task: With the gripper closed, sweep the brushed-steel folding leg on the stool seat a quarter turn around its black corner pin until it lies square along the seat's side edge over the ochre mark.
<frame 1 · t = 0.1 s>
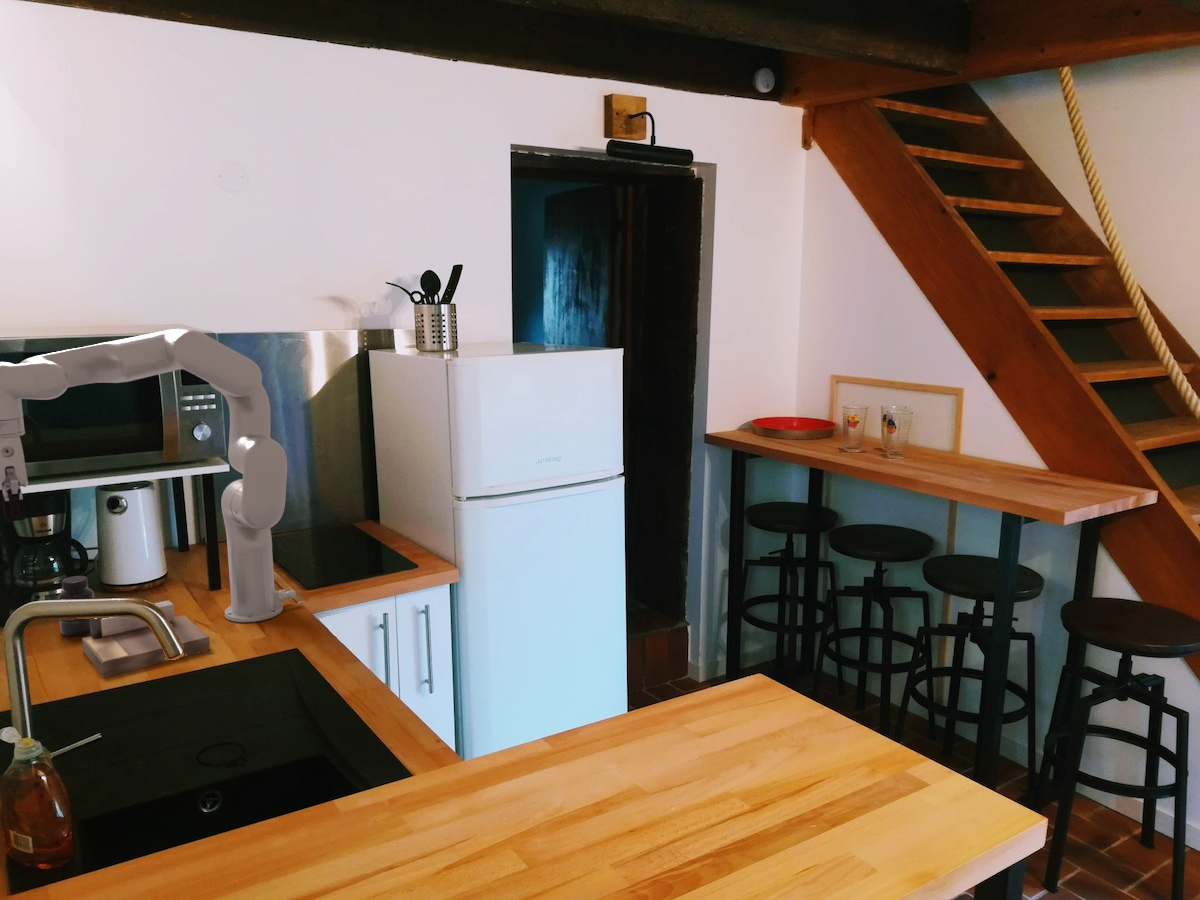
hand: (10, 515, 170), 31 cm above the countertop, tool pointing down, fingers open, 9 cm apart
stool leg: (132, 618, 186), point 5 cm above the countertop, hinge at 0.0°
supplement bottle: (79, 632, 194), on the countertop
stool seat: (147, 651, 184), on the countertop
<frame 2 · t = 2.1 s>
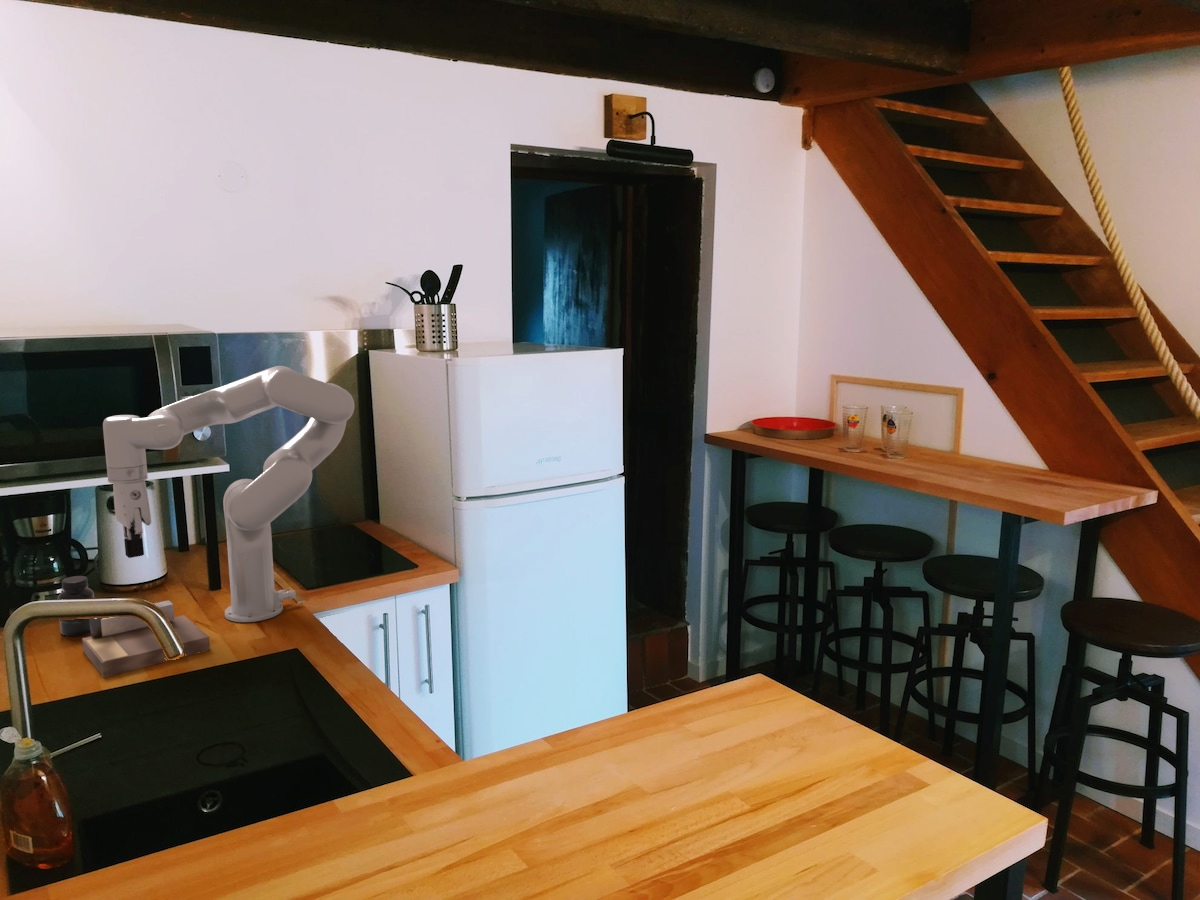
hand: (134, 555, 192), 17 cm above the countertop, tool pointing down, fingers closed
nothing on the countertop moved.
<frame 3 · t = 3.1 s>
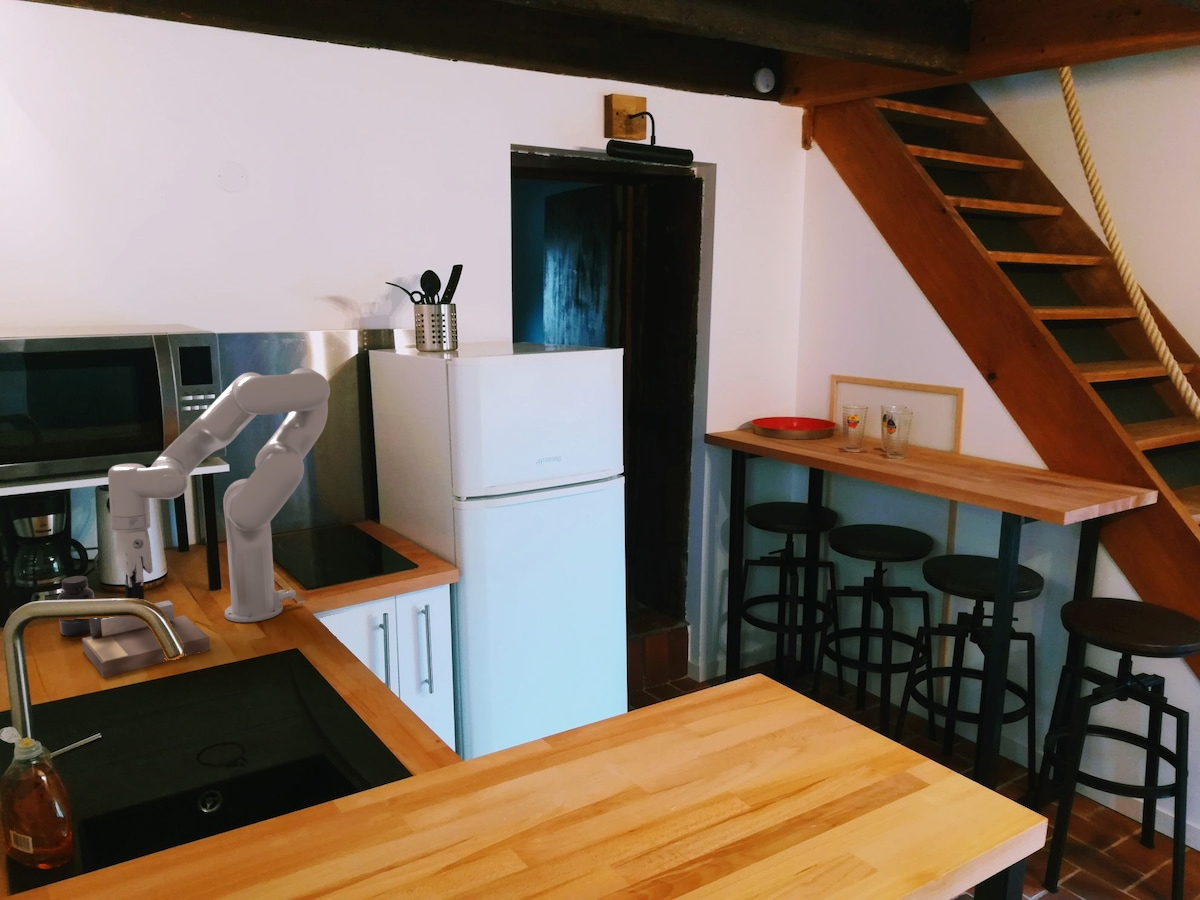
hand: (135, 602, 193), 6 cm above the countertop, tool pointing down, fingers closed
nothing on the countertop moved.
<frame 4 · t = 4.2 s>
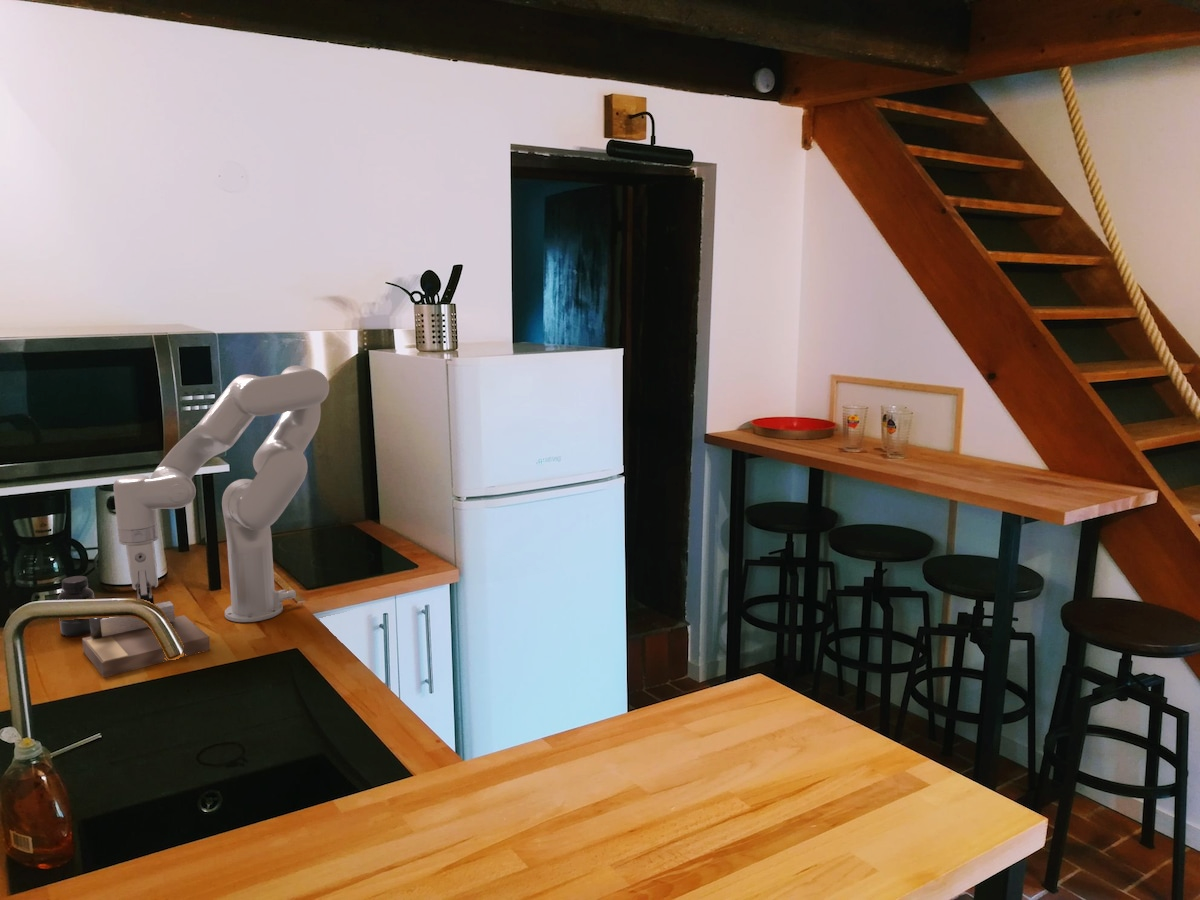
hand: (146, 614, 192), 4 cm above the countertop, tool pointing down, fingers closed
stool leg: (132, 619, 186), point 5 cm above the countertop, hinge at 2.6°, touching gripper
everything else where it was.
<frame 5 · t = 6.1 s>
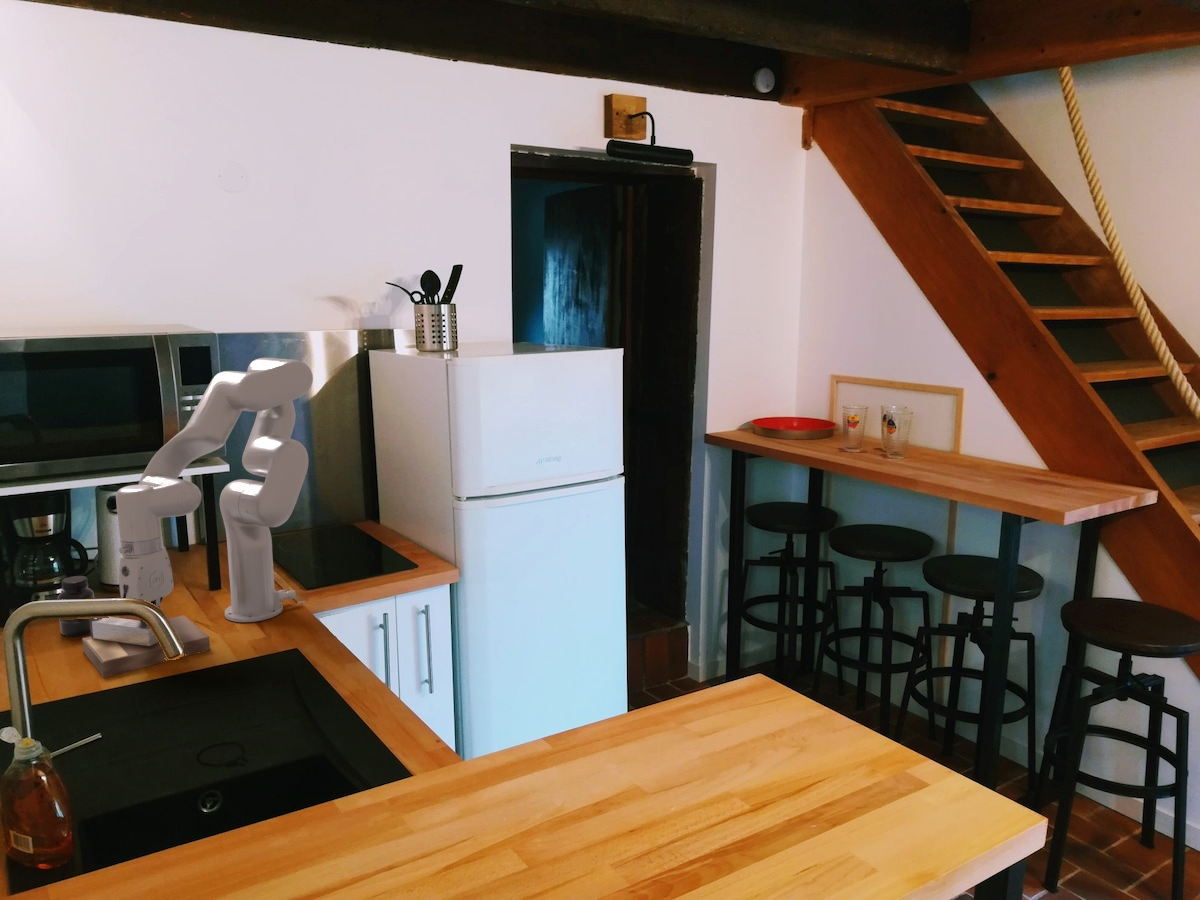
hand: (150, 630, 183), 4 cm above the countertop, tool pointing down, fingers closed
stool leg: (123, 630, 180), point 5 cm above the countertop, hinge at 58.0°, touching gripper
everything else where it was.
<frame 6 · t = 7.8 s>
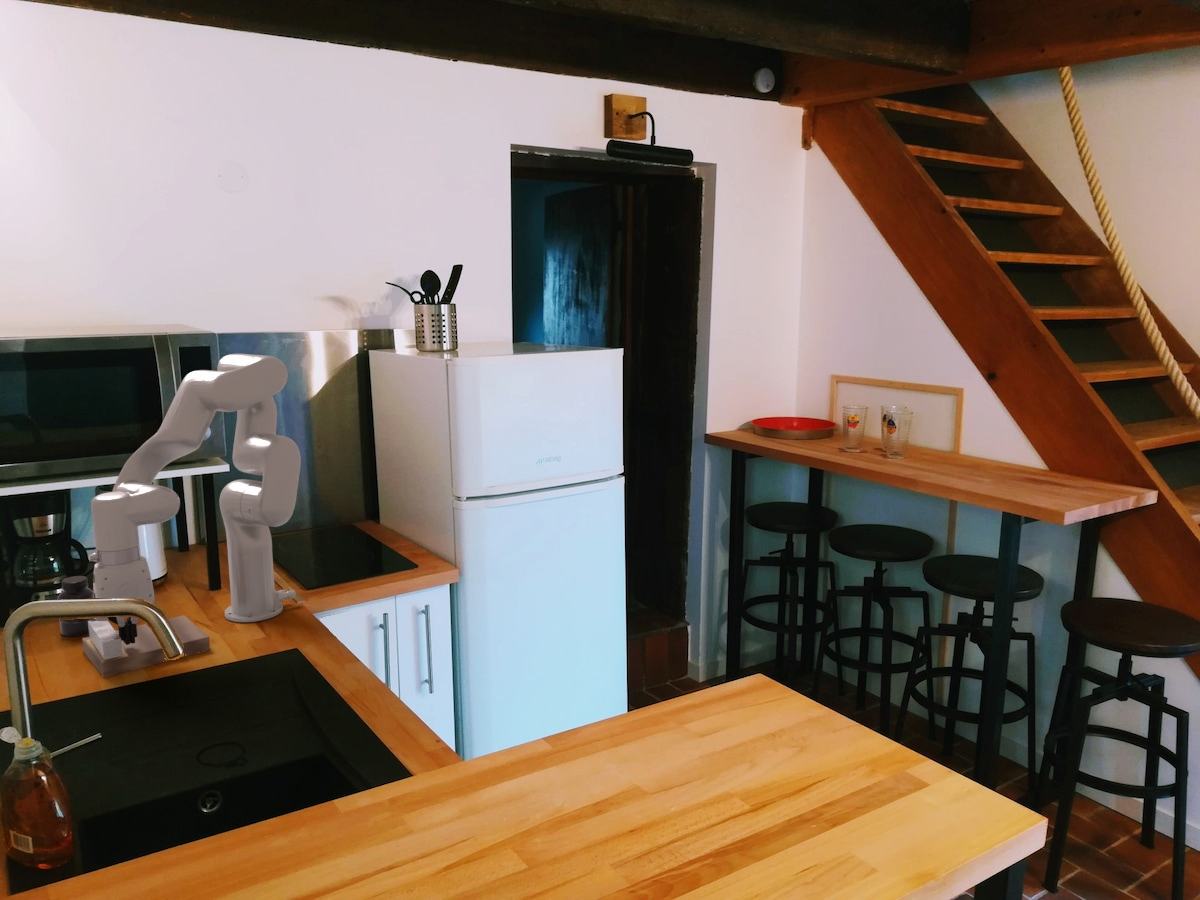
hand: (128, 641, 177), 4 cm above the countertop, tool pointing down, fingers closed
stool leg: (103, 636, 177), point 5 cm above the countertop, hinge at 92.4°, touching gripper
everything else where it was.
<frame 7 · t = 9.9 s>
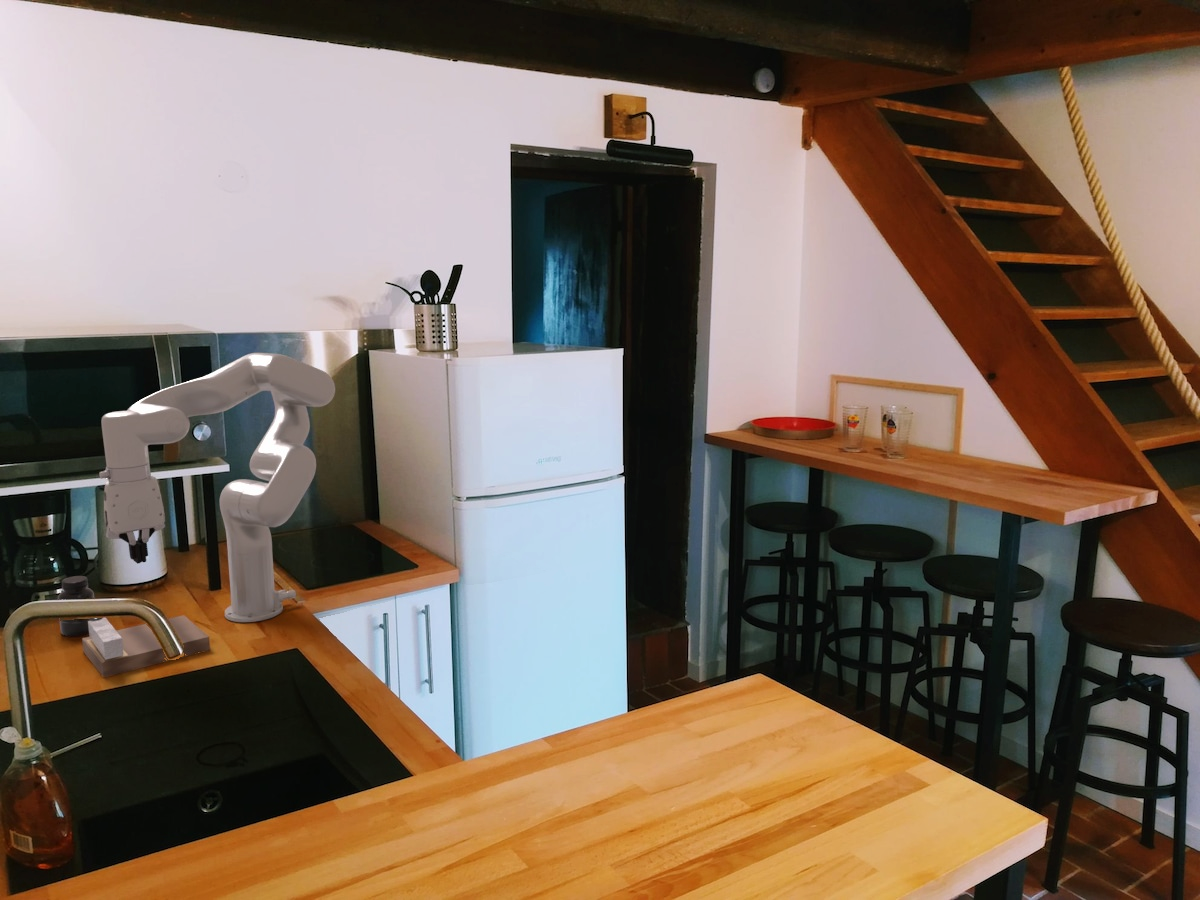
hand: (139, 561, 179), 20 cm above the countertop, tool pointing down, fingers closed
stool leg: (104, 636, 177), point 5 cm above the countertop, hinge at 91.6°
everything else where it was.
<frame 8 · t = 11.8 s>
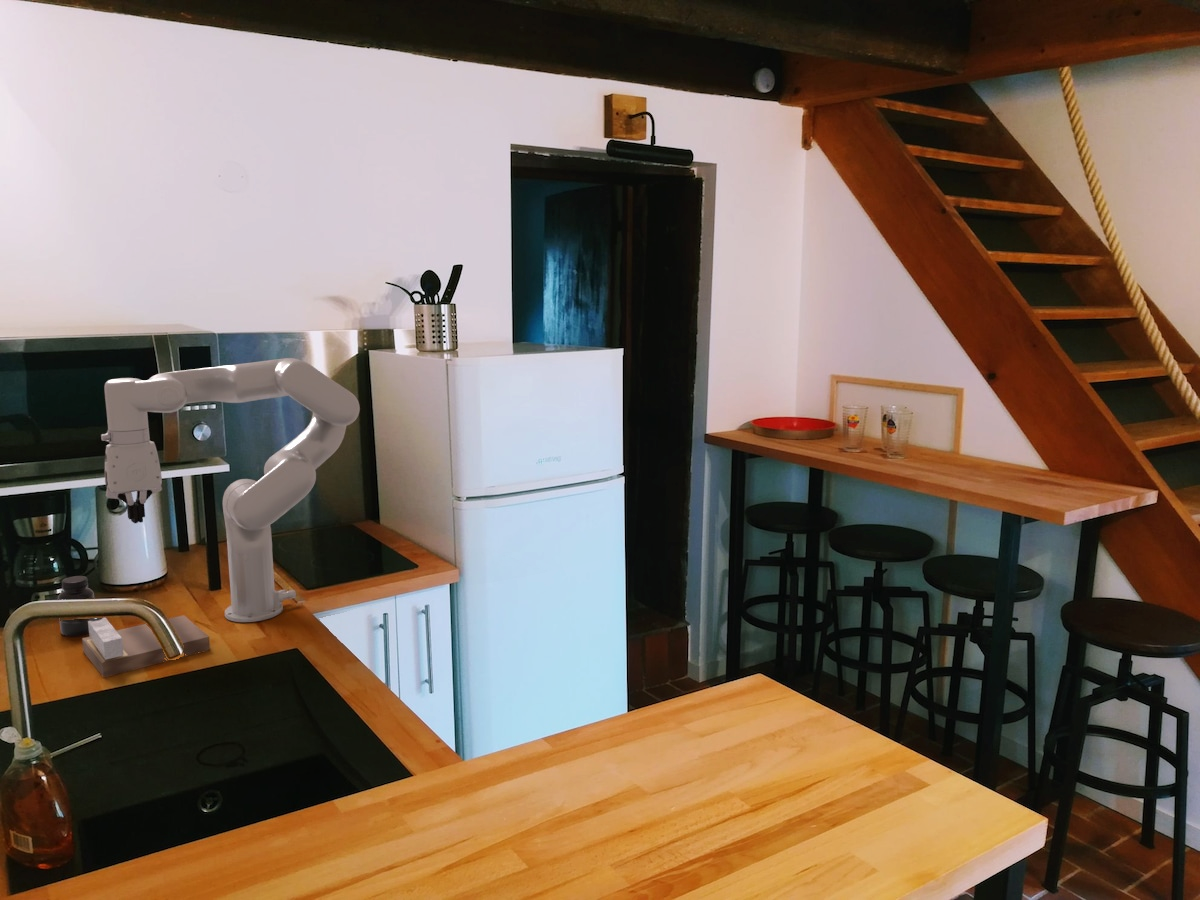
hand: (137, 521, 189), 25 cm above the countertop, tool pointing down, fingers closed
nothing on the countertop moved.
at the end: stool leg at +92° (first picture: +0°); supplement bottle moved 0.2 cm from its start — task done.
